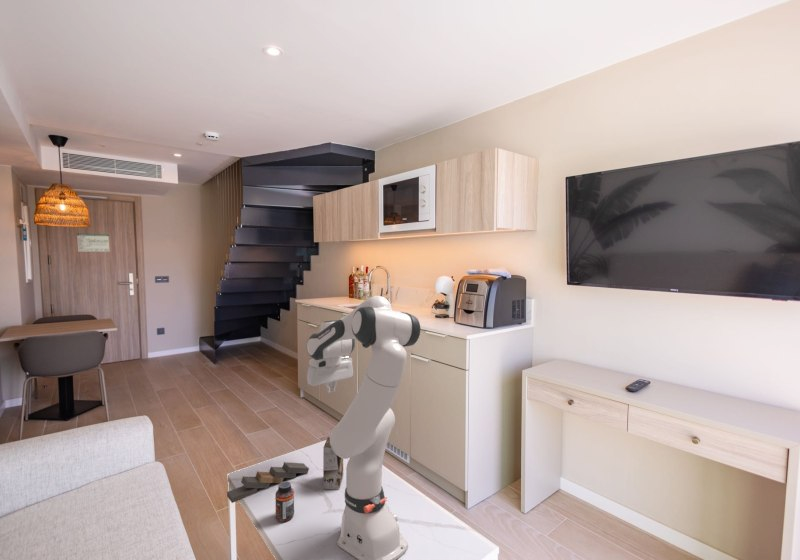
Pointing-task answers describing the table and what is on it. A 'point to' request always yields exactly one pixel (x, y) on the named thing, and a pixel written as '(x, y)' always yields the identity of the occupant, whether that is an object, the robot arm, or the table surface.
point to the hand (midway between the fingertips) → (331, 391)
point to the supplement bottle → (284, 502)
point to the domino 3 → (267, 478)
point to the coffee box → (331, 468)
